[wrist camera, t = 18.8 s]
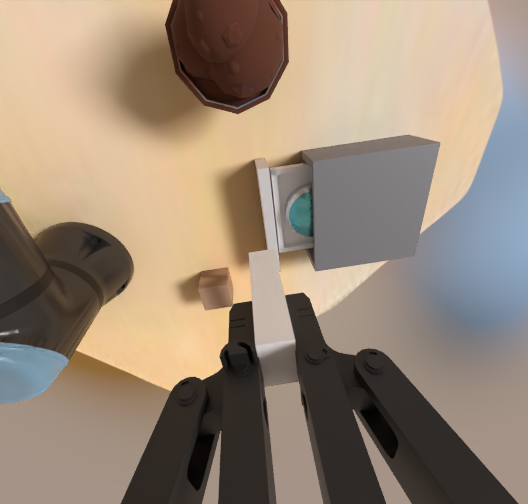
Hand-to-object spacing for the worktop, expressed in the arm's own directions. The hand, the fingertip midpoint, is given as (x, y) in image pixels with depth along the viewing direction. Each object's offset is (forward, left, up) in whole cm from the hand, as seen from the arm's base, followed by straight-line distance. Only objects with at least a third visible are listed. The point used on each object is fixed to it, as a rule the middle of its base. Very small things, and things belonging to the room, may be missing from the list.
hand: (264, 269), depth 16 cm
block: (-9, -20, -26) cm, 34 cm away
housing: (+16, -8, -26) cm, 32 cm away
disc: (+9, -8, -25) cm, 27 cm away
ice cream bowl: (0, +13, -27) cm, 30 cm away
